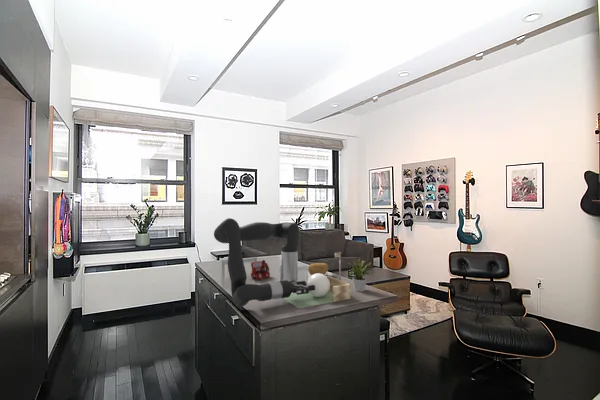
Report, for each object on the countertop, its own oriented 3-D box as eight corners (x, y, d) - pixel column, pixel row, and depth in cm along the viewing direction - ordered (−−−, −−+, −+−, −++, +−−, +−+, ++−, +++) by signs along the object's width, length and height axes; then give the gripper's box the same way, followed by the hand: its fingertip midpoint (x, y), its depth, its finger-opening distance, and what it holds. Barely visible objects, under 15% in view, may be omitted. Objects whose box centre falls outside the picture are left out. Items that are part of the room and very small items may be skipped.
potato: (332, 276, 193) (332, 262, 193) (314, 279, 186) (314, 265, 186) (322, 273, 202) (322, 260, 201) (304, 276, 194) (304, 262, 194)
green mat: (299, 309, 135) (299, 308, 135) (279, 296, 153) (279, 296, 153) (351, 299, 149) (351, 298, 149) (328, 288, 166) (328, 288, 166)
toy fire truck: (272, 277, 190) (272, 260, 190) (255, 281, 182) (255, 263, 182) (265, 275, 195) (265, 258, 195) (248, 279, 187) (248, 261, 187)
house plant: (353, 296, 152) (353, 262, 152) (338, 289, 165) (338, 257, 165) (378, 293, 158) (378, 260, 158) (362, 286, 171) (361, 255, 171)
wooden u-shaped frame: (334, 301, 144) (334, 257, 144) (312, 290, 161) (311, 251, 161) (353, 298, 150) (353, 255, 149) (329, 287, 167) (329, 249, 166)
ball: (310, 266, 151) (329, 270, 156) (300, 283, 155) (318, 286, 160) (317, 283, 142) (337, 286, 147) (306, 300, 146) (326, 303, 151)
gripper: (285, 285, 135) (318, 280, 143) (271, 278, 148) (302, 274, 156) (285, 303, 135) (318, 297, 143) (271, 294, 148) (302, 289, 156)
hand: (309, 285), depth 149 cm, fingers open, 8 cm apart
